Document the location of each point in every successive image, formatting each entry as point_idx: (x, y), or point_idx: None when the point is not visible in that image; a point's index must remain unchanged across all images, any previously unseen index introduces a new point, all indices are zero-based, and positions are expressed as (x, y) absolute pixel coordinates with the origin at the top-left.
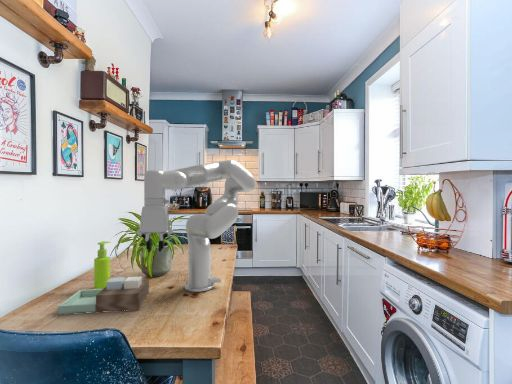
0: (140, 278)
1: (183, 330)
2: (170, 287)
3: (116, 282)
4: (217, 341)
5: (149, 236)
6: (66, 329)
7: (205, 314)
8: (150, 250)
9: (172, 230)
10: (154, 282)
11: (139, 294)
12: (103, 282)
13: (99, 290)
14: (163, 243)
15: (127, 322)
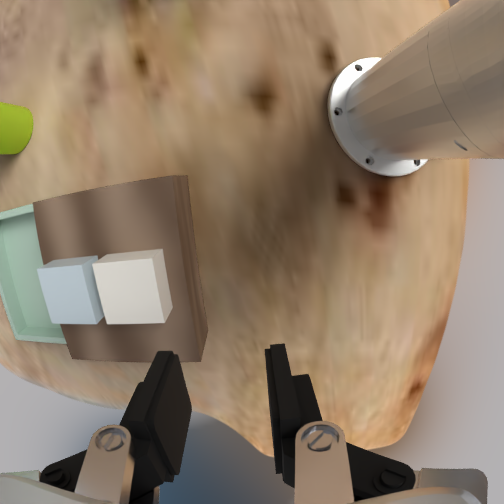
0: (157, 280)
1: (351, 419)
2: (261, 99)
3: (83, 322)
4: (402, 436)
5: (125, 477)
6: (95, 399)
7: (403, 353)
8: (185, 391)
9: (484, 495)
10: (171, 39)
11: (200, 346)
12: (7, 146)
13: (24, 213)
14: (316, 401)
15: (210, 393)
